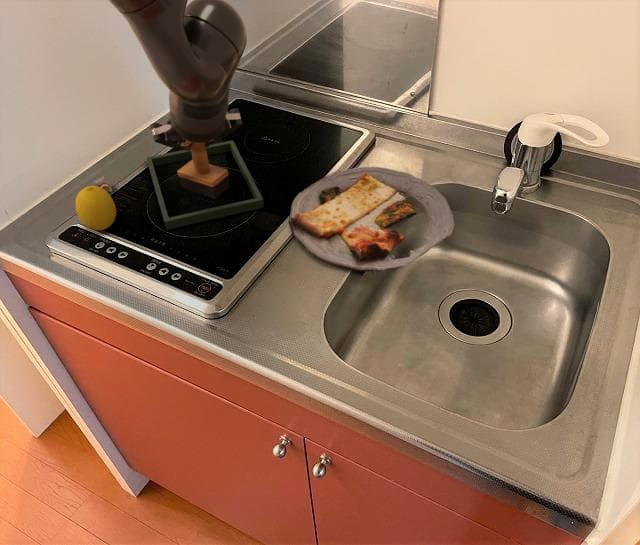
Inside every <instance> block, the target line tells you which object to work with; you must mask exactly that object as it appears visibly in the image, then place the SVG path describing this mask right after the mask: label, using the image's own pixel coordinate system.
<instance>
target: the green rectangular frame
mask: <svg viewBox="0 0 640 545" xmlns="http://www.w3.org/2000/svg"><path fill="white" fill-rule="evenodd" d="M206 151H207V156H212V155H217V154H221V153H222V154H223V153H227V152H231V155H232V156H233V159H234V160H235V163H236V164H237V166H238V169H239V170H240V173H241V174H242V176H243V178H244V181H245V182H246V185H247V186H248V188H249V190H250V193H251V195H252V196H253V198H251V199H246V200H242V201H238V202H233V203H228V204H224V205H219V206H215V207H211V208H205V209H202V210H196V211H193V212H189V213H184V214H179V215H175V216H169V213H168V210H167V206H166V203H165V200H164V196H163V192H162V190H161V186H160V183H159V179H158V176H157V173H156V169H155V167H158V166H163V165H167V164H173V163H177V162H181V161H182V162H183V161H187V160H192V159H193V158H192V153H191V150H190V151H186V149H182V150H177V151H172V152H167V153H163V154H157V155H152V156H147V157H146V162H147V166H148V169H149V174H150V176H151V180H152V183H153V187H154V191H155V195H156V198H157V201H158V205H159V208H160V212H161V214H162V219H163V222H164V227H165V230H171V229H177V228H180V227H185V226H189V225H193V224H198V223H203V222H206V221H212V220H216V219H220V218H224V217H227V216H232V215H238V214H242V213H247V212H250V211H255V210H259V209H263V208H265V203H264V202H265V200H264V198H263V196H262V194H261V192H260V190H259V189H258V186H257V185H256V183H255V181H254V178H253V177H252V175H251V173H250V170H249V168H248V167H247V165H246V163H245V161H244V159H243V157H242V156H241V153H240V151H239V149H238V147H237V145H236V143H235V141H234V140H227V141H223V142H218V143H213V144H212V143H211V144H209V147H206Z"/></svg>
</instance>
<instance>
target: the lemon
mask: <svg viewBox="0 0 640 545" xmlns="http://www.w3.org/2000/svg"><path fill="white" fill-rule="evenodd" d="M75 211H76V215H77V217H78V219H79V221H80V222H81V223H82V225H84V227H86V228H87V229H90V230H92V231H105V230H106V229H108V228H110V227H111V226H112V225H113V224H114V222H115V221H116V217H117V207H116V205H115V202H114V200H113V198H112V196H111V195H110V192H107V191H106V190H104V189H102V188H100V187H97V186H96V185H88V186H86V187H84V188H82V189H81V190H80V191H79V192H78V193H77V195H76V198H75Z"/></svg>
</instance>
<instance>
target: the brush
mask: <svg viewBox="0 0 640 545" xmlns="http://www.w3.org/2000/svg"><path fill="white" fill-rule="evenodd" d="M191 153H192V158H193V159H190V160H189V161H188V162H187V163H186V164H185V165H183V166H182V167H180V168H179V169H178V170H177V171H176V172H177V176H178V177H179V182H180V186H181V187H180V188H181V189H184V190H187V191H190V192H193V193H196V194H198V195H199V194H200V195H202V196H205V197H208V198H211V199H214V200H216V199H217V198H218V197H219V196H220V195H222V194H223V193H224V192H225V191H226V190H227V189H229V188H230V182H229V170H228V169H226V168H223V167H220V166H217V165H213V164H210V162H209V155H207V151H206V145H205V142H203V143H196V142H193V143H191Z"/></svg>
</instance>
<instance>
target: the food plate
mask: <svg viewBox="0 0 640 545" xmlns="http://www.w3.org/2000/svg"><path fill="white" fill-rule="evenodd" d="M397 193H398V195H400V196H402V197H404V198H403V199H401V200H396V201H394V202H392V203H391V204H390V205H388V206H386V207H385V208H384V209H383V210H382V211H381V212H380V213H379V214H378V215H377V216H376V217H375V218H374V220H373V223H375V225H377V227H379V228H380V229H376V228H370V226H363V224H362V223H360V224H359V227H358V226H355V227H354V230H350V229H347V228H348V227H350V226H351V225H353V224H354V223H355V222H357V221H359V220H361V219H362V218H365V217H366V216H367V215H368V214H370V213H371V212H372V211H374V210H376V209H377V207H379V206H381V205H383V204H384V203H387V202H388V201H389V200H391V199H392V197H393V196H394V195H396V194H397ZM408 200H410V201H411V202H413V203H415V204H416V205H417V206H418V207H419V208H420V209H421V211H422V212H423V214H424V217H425V220H426V229H425V233H424V238H425V239H427V241H428V242H427V244H424V246H423V249H422V250H421V251H414V250H409V256H406V257H402V258H396V256H395V255H393V254H392V255H390V253H391V252H392V251H393V250H394V249H395V248H397V246H398V245H400V244H402V243H403V241H404V240H405V236H404V235H403V234H401V233H399V231H398V230H397V229H392V230H389V231H388V229H387V227H388V226H390V225H393V224H395V223H397V222H401V221H403V220H405V219H407V218H409V217H413V216H414V215H417V212H416V210H414V206H413V205H411V203H410V202H409V201H408ZM289 211H290V212H289V217H288V221H287V223H288V225H289V228H290V229H291V235H292V236H293V237H294V238H295V239H296V240H297V242H298V243H299V244H300V245H301V246H302V247H304V249H305V250H306V251H307V252H309V254H311V255H312V256H313V257H314V258H316V259H317V260H320V261H321V262H323V263H326V264H330V265H333V266H336V267H337V266H338V267H342V268H346V269H350V270H352V271H355V272H364V273H366V272H367V273H368V272H371V274H374V272H378V273H381V272H384V271H386V270H387V269H391V270H392V271H396V270H398V269H401V268H403V267H405V266H407V265H410V264H411V263H412V262H414V261H415V260H416V259H418V258H420V257H422V256H424V254H427V253H428V252H429V251H430V250H431V249H433V248H434V247H436V246H438V245H439V243H441V242H442V241H443V240H444V239H446V238H449V237H451V236H452V233H453V231H454V228H455V220H454V215H453V212H452V210H451V208H450V205H449V203H448V200H447V198H446V197H444V195H443V194H442V193H441V192H439V190H438V189H437V187H436V186H435V187H434V186H433V185H432V184H431V183H429V182H427V181H425V180H423V179H421V178H419V177H416V176H415V175H413V174H411V173H410V172H406V171H402V170H401V171H400V170H397V169H396V170H395V169H391V168H389V167H381V166H360V167H354V168H348V169H343V170H342V169H339V170H336V171H334V172H332V173H330V174H328V175H326V176H324V177H322V178H320V179H319V180H316V182H314V183H312V184H310V185H309V186H307V187H306V188H304V189H303V190H301V191H300V192H299V193H298V194H297V195H296V196H295V197H294V199H293V200H292V203H291V205H290V210H289ZM336 235H337V236H340V239H341V240H342V241H343V242H344V243H345V244H346V246H347V247H348V249H349V252H350V253H351V254H350V253H343V252H342V251H341V250H339V248H333V247H332V246H331V244H330V242H329V239H330V238H332V237H335V236H336ZM420 242H421V240H420V241H418V242H417V243H418V244H420ZM412 248H413V247H411V249H412ZM395 258H396V259H395ZM374 270H375V271H374Z"/></svg>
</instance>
